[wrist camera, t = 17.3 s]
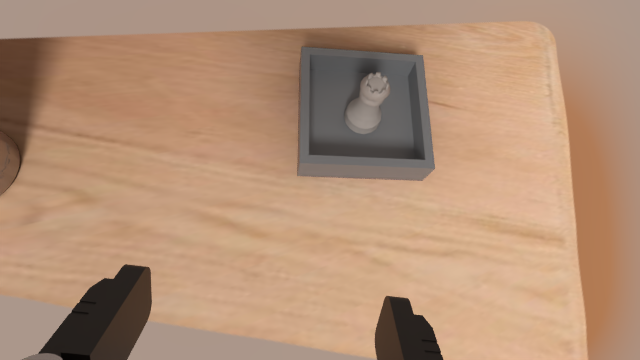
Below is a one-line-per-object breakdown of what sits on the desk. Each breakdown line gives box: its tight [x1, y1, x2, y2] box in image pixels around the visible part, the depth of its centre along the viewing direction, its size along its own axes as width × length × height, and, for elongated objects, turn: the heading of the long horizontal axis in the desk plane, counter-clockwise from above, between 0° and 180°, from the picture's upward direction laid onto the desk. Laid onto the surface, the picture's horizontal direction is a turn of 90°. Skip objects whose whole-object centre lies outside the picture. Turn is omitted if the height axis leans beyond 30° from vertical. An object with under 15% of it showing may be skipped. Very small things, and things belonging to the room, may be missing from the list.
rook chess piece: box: [344, 72, 390, 134], centre depth 44 cm, size 4×4×8 cm
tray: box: [297, 47, 435, 181], centre depth 47 cm, size 15×15×4 cm
